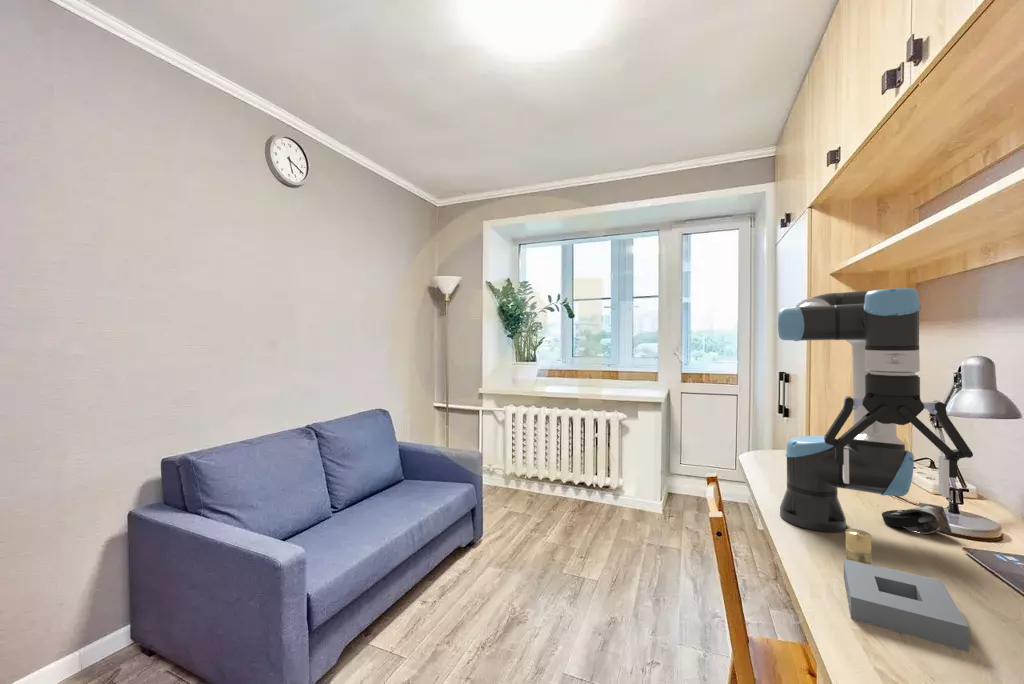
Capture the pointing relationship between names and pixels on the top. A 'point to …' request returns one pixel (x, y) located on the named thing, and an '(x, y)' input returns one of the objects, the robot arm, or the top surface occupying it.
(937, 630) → the jig
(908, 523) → the caster wheel
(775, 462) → the top surface
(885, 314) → the robot arm
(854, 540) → the gold metal cylinder
